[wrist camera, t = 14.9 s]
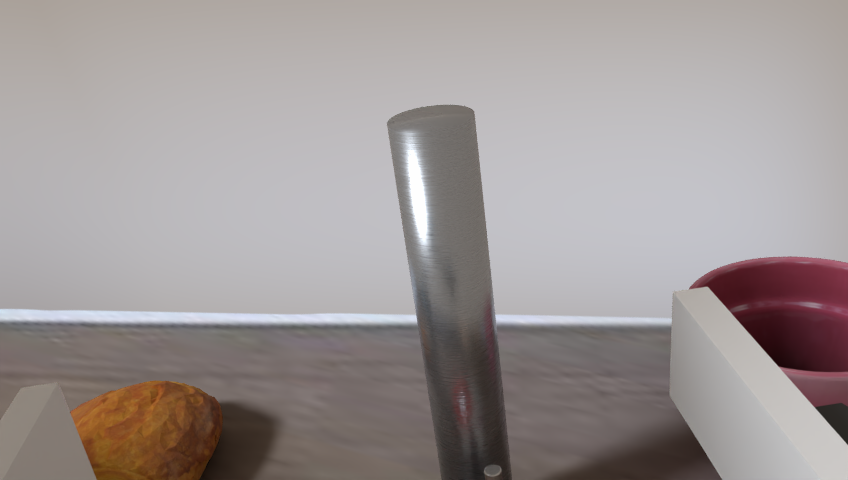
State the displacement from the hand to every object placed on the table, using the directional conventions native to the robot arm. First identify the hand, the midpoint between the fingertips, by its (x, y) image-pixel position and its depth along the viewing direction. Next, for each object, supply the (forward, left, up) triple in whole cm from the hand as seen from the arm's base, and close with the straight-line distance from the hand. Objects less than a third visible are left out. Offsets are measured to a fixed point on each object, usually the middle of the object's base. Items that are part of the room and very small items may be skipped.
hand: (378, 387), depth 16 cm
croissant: (-23, +34, -29) cm, 50 cm away
